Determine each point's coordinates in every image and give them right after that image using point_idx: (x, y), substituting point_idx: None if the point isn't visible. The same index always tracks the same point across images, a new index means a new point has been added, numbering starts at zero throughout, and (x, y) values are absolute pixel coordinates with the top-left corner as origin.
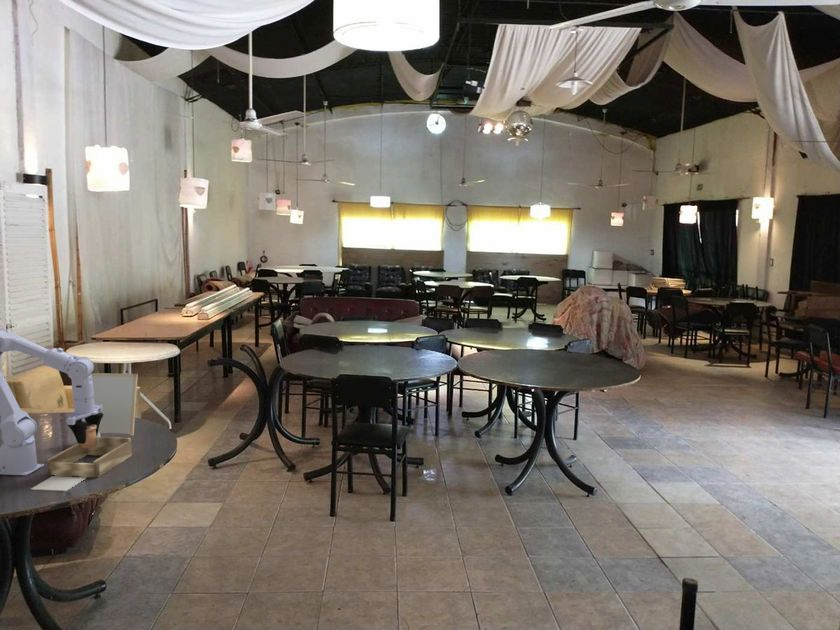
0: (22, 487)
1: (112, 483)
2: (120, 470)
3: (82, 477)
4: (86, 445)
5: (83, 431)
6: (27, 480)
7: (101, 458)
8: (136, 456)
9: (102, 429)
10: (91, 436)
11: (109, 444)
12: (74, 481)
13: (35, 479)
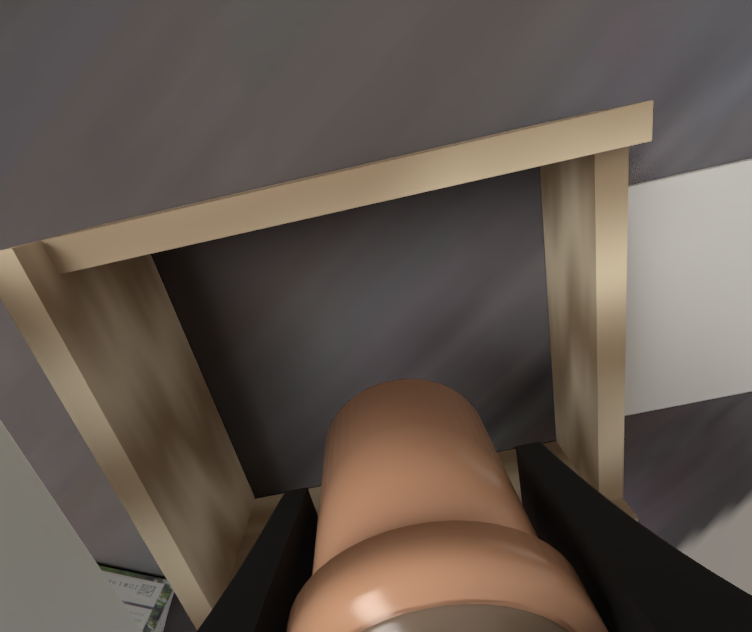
0: (741, 446)
1: None
2: (393, 46)
3: None
4: (481, 427)
5: (712, 578)
6: (648, 494)
7: (555, 125)
8: (106, 166)
9: (73, 607)
10: (458, 467)
11: (159, 418)
12: (669, 222)
13: (632, 471)
